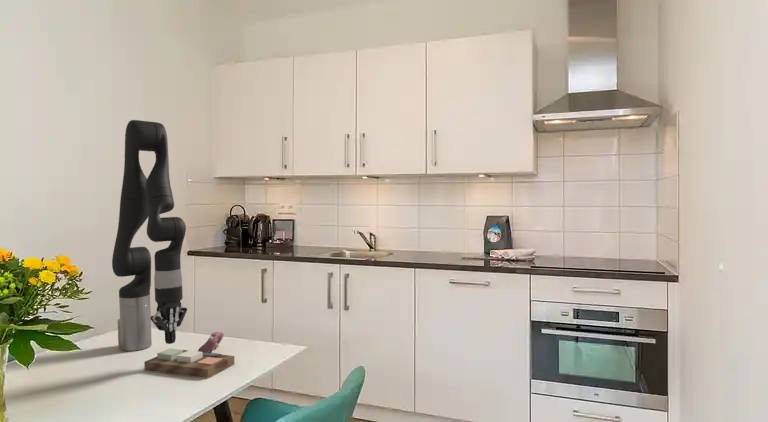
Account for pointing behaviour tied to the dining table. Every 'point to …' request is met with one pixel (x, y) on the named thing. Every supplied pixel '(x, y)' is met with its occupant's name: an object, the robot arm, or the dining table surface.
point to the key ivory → (189, 356)
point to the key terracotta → (209, 361)
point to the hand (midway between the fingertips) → (170, 343)
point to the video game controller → (212, 342)
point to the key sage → (169, 354)
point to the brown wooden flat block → (190, 366)
